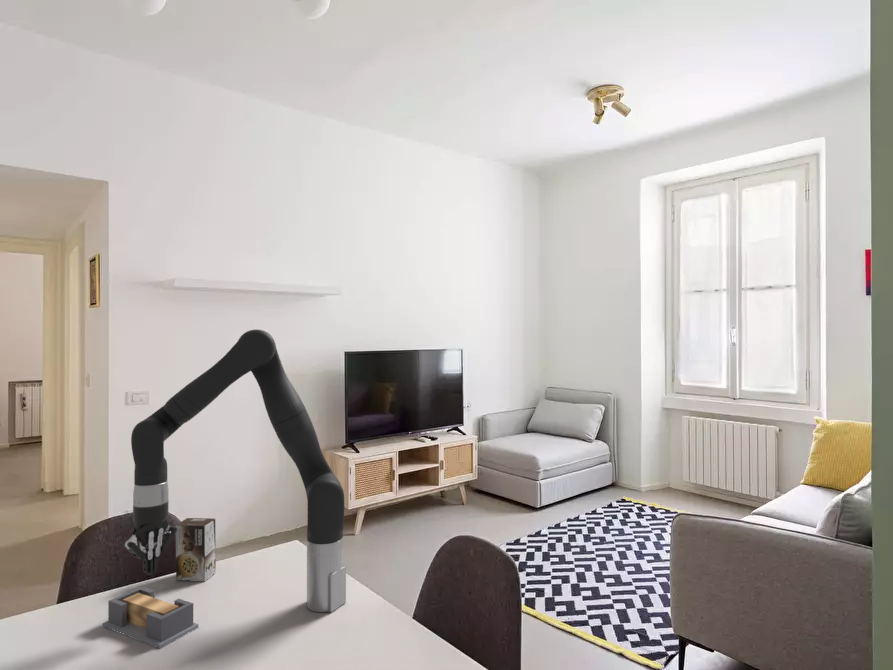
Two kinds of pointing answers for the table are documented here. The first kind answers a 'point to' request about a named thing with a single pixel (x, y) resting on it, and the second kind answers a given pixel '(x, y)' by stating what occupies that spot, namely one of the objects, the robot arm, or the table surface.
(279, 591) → the table surface
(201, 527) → the coffee box
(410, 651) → the table surface
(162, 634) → the end caps
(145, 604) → the wooden block
